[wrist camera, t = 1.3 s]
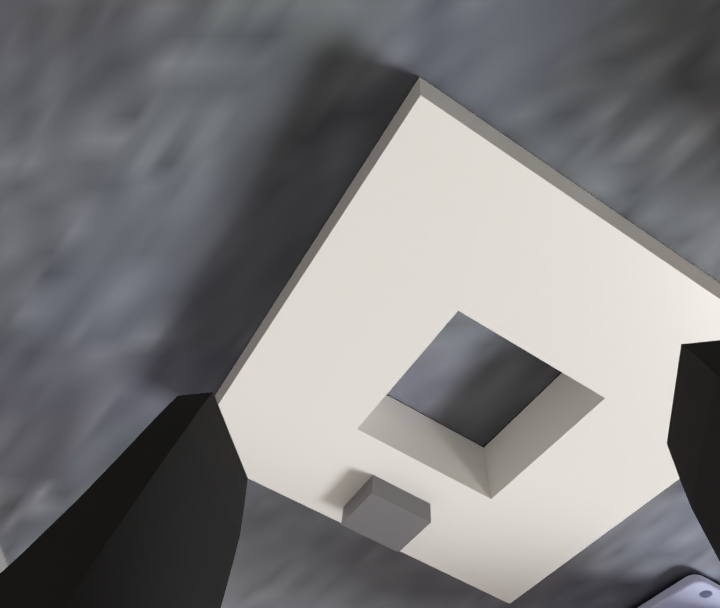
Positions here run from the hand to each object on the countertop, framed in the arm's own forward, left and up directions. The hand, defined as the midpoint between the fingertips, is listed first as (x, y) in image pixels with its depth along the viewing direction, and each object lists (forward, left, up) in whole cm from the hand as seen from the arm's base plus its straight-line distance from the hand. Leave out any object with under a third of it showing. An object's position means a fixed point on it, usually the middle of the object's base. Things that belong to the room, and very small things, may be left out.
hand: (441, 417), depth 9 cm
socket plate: (-5, +4, -10) cm, 12 cm away
